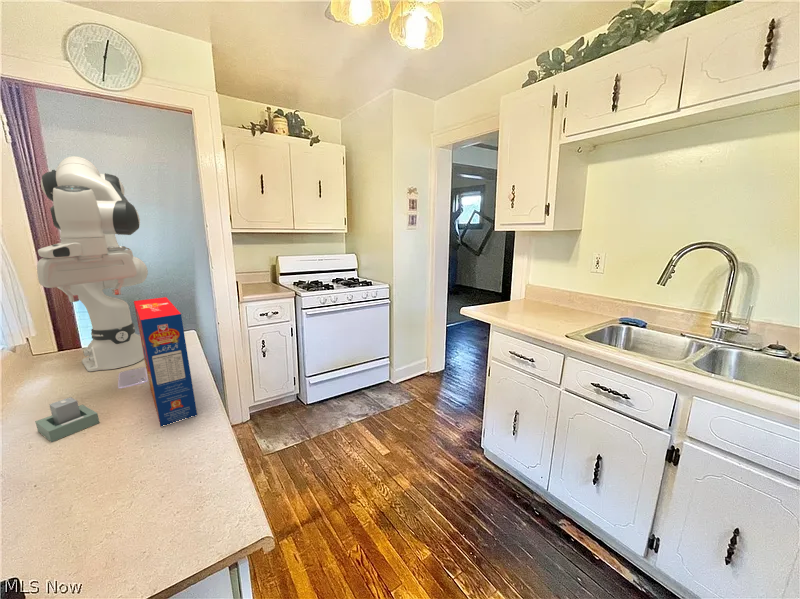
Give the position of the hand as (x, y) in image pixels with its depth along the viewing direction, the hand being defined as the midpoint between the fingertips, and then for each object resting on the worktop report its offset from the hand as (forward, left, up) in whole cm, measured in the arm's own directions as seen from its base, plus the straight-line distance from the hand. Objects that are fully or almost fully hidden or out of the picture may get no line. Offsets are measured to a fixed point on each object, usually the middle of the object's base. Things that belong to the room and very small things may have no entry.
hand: (96, 298), depth 94 cm
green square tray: (+9, -13, -30) cm, 34 cm away
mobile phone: (-11, +8, -31) cm, 33 cm away
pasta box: (+18, +6, -30) cm, 36 cm away
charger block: (+9, -13, -29) cm, 33 cm away
